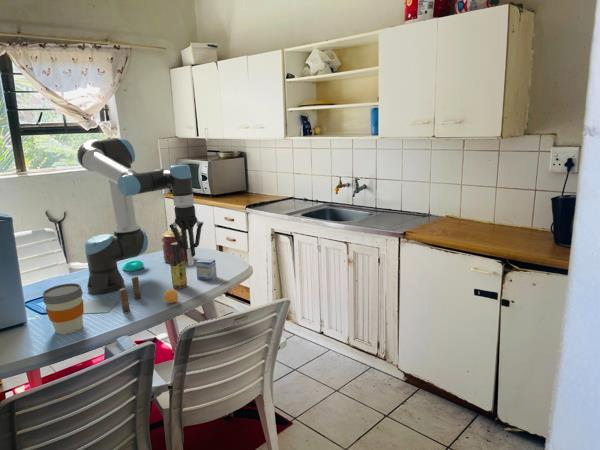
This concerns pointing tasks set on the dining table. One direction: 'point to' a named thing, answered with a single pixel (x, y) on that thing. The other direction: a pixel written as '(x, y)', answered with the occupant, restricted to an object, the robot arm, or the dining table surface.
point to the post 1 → (124, 300)
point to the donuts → (133, 265)
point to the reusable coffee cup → (64, 307)
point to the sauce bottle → (178, 267)
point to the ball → (170, 296)
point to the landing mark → (100, 305)
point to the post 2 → (136, 288)
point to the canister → (166, 245)
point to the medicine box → (206, 269)
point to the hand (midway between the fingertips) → (191, 264)
